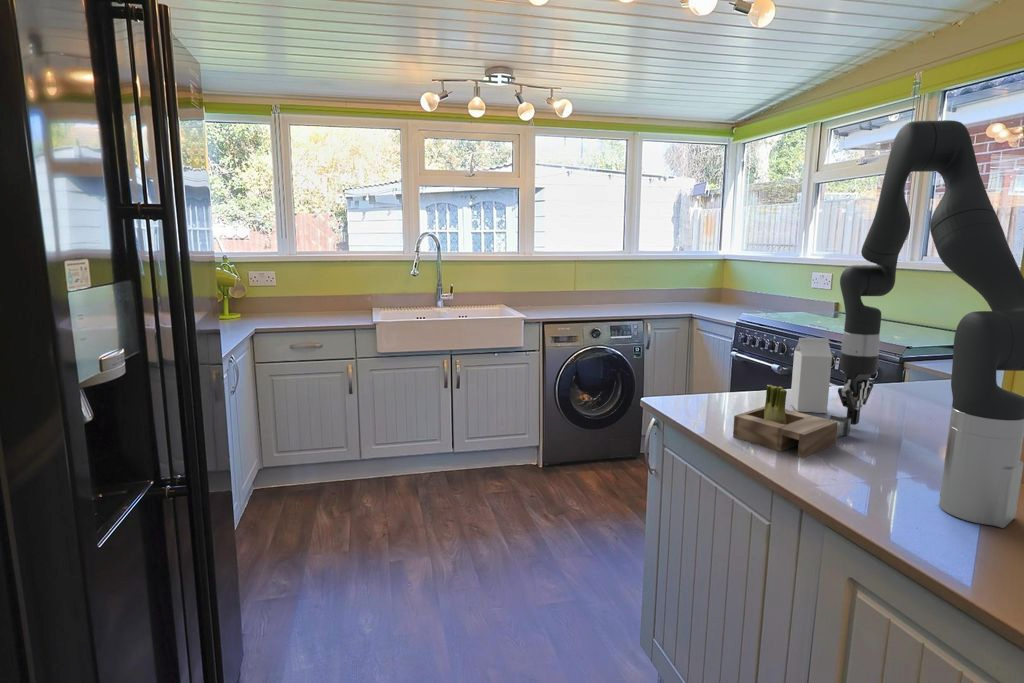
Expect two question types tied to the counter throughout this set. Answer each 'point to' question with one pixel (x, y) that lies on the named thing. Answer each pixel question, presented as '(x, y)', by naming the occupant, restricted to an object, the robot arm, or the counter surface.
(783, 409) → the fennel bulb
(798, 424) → the dock
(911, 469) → the counter surface
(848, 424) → the lock pin
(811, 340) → the milk carton
